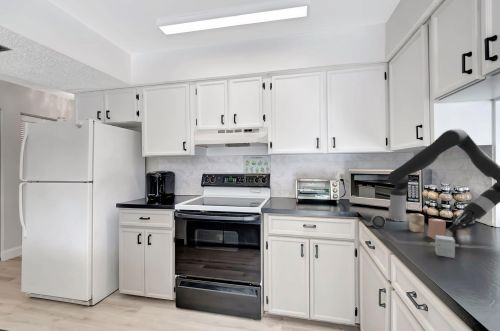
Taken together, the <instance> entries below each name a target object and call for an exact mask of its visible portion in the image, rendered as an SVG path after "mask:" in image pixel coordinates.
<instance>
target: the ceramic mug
mask: <svg viewBox="0 0 500 331" xmlns="http://www.w3.org/2000/svg"><path fill="white" fill-rule="evenodd" d="M386 224H387V220H386V218H385V217H384V216H383V215H382V214H374V215H372V216H371V220H370V221H367V222H365V225H366V227H369V226H373V227H374V228H376V229H382V228H383V227H386ZM382 226H383V227H382Z"/></svg>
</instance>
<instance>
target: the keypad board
mask: <svg viewBox="0 0 500 331" xmlns="http://www.w3.org/2000/svg"><path fill="white" fill-rule="evenodd" d="M426 243H427V244H429V245H432V246H435V241H426ZM455 247H460V244H459V243H455Z"/></svg>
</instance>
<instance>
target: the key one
mask: <svg viewBox="0 0 500 331" xmlns="http://www.w3.org/2000/svg"><path fill="white" fill-rule="evenodd" d="M424 228H425V215H423V214H421V213H409V227H408V229H409V230H410V231H411V232H414V233H424V232H425V230H424Z"/></svg>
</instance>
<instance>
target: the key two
mask: <svg viewBox="0 0 500 331" xmlns="http://www.w3.org/2000/svg"><path fill="white" fill-rule="evenodd" d="M446 226H447V225H446V221H445V220H443V219H441V218H440V219H439V218H428V233H427V236H428V237H429V238H430V239H433V240H435V235H440V236H446V229H447V228H446Z"/></svg>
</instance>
